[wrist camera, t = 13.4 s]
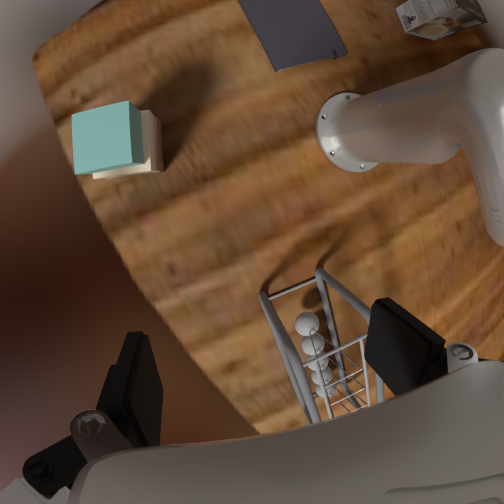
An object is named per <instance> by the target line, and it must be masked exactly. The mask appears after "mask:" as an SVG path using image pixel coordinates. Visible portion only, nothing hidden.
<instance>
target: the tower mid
mask: <svg viewBox="0 0 504 504" xmlns="http://www.w3.org/2000/svg"><path fill="white" fill-rule="evenodd" d="M140 112H141V122H142V139H143V153H144V164H142V165H136V166H130V167H125V168H119V169H114V170H109V171H104V172H99V173H93V179H97V178H107V177H114V176H121V175H128V174H136V173H144V172H153V171H158V162H157V137H156V117H155V116H154V115H153V114H152V113H151V111H150V110H143V111H140Z"/></svg>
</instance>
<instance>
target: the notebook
mask: <svg viewBox="0 0 504 504" xmlns="http://www.w3.org/2000/svg"><path fill="white" fill-rule="evenodd" d="M237 1H238V2H239V4H240V6H241V7H242V9H243V11H244V13H245V15H246V16H247V18H248V20H249V22H250V24H251V25H252V27H253V29H254V31H255V33H256V35H257V37H258V39H259V40H260V42H261V44H262V46H263V48H264V50H265V52H266V54H267V56H268V58H269V60H270V62H271V64H272V66H273V68H274V71H275V72H277V71H278V70H281V69H285V68H289V67H293V66H297V65H301V64H305V63H310V62H314V61H319V60H324V59H329V58H333V59H335V58H337V57H340V56H344V55H346V54H347V51H346V49H345V47H344V45H343V43H342V41H341V39H340V37H339V35H338V33H337V31H336V29H335V28H334V26H333V24H332V22H331V20H330V19H329V17H328V15H327V13H326V12H325V10H324V8H323V7H322V5H321V3H320V2H319V0H237Z"/></svg>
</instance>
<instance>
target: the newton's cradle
mask: <svg viewBox="0 0 504 504" xmlns="http://www.w3.org/2000/svg"><path fill="white" fill-rule="evenodd" d="M323 279H324V280H325V281H326V282H327V283H328V284H329V285H330V286H331V287H332V288H334V289H335V290H336V291H337V292H338V293H339V294H340V295H341V296H342V297H343V298H344V299H346V300H347V301H348V302H349V303H350V304H351V305H352V306H353V307H354V308H355V309H356V310H357V311H359V312H360V313H361V314H362V315H363V317H364V318H365V320H366V321H367V323H368V326H369V321H370V314H371V309H370V308H369V307H368V306H367V305H366V304H364V303H363V302H362V301H361V300H360V299H358V298H357V297H356V296H355V295H354V294H353V293H351V292H350V291H349V290H348V289H347V288H345V287H344V286H343V285H342V284H341V283H339V282H338V281H337V280H336V279H335V278H333V277H332V276H331V275H330V274H329V273H327V272H326V271H325V270H324V269H322V268H320V267H319V268H317V269H316V270H315V278H314V279H312V280H310V281H307V282H305V283H303V284H300V285H298V286H296V287H293V288H291V289H288V290H286V291H284V292H281V293H279V294H276V295H274V296H271V297H269V298H268V297H267V295H266V293H265V292H264V291H261V292H259V294H258V296H259V299H260V302H261V305H262V307H263V310H264V312H265V315H266V318H267V320H268V323H269V325H270V328H271V331H272V333H273V336H274V338H275V341H276V343H277V346H278V349H279V351H280V354H281V356H282V359H283V361H284V364H285V366H286V369H287V372H288V374H289V377H290V379H291V382H292V384H293V387H294V389H295V392H296V394H297V397H298V400H299V402H300V404H301V407H302V409H303V411H304V414H305V416H306V418H307V420H308V422H309V424H313V423H317V422H321V418H320V415H319V412H318V409H317V406H316V403H315V400H314V396H316V395H319V396H320V397H324V400H325V404H326V407H327V411H328V414H329V418H330V419H332V418H334V415H333V412H332V408H331V405H333V404H330V400H329V397H330V396H331V395H332V396H333V397H334V398H335V399H336V400H337V401H338V402H339V403H340V404H341V405H342V406H343V407H345V406H344V405H343V404H342V403H341V402H340V401H341V400H340V401H339V400H338V399H337V398H336V397H335V396H334V395H333V393H334V392H335V389H336V390H337V391H338V392H339V393H340V394H342V393H341V392H340V391H339V390H338V389H337V388H336V386H338V385H340V384H341V385H342V387H343V390H344V392H345V393H346V395H347V396H348V397H345V396H344V395H343V394H342V395H343V396H344V397H345V398H344V399H347V398H349V399H350V401H351V402H352V403H351V402H350V401H349V400H348V399H347V400H348V401H349V402H350V403H351V404H352V405H353V406H354V407H355V408H356V410H357V411H358V410H361V409H363V408H362V407H363V406H362V407H361V406H360V404H359V403H358V401H357V400H356V398H355V397H354V395H356V394H355V393H354V392H353V391H352V390H350V389H349V387H348V385H347V383H346V378H347V377H349V376H350V377H351V378H352V379H353V380H354V381H356V380H355V379H354V378H353V377H352V376H351V375H353V374H355V373H357V372H359V371H361V370H363V369H364V376H365V384H366V387H363V386H362V385H361V384H360V383H359V382H357V381H356V382H357V383H358V384H359V385H360V386H362V387H363V388H364V389H365V388H366V393H367V404H368V407H369V406H371V405H370V394H369V384H368V375H367V366H366V360H365V358H364V344H363V338H365V337H367V333H366V334H364V335H362V336H360V337H358V338H356V339H354V340H352V341H350V342H348V343H346V344H344V345H342V346H340V347H339V344H338V340H337V335H336V331H335V326H334V322H333V318H332V314H331V309H330V305H329V301H328V297H327V293H326V289H325V285H324V281H323ZM314 281H316V282H317V286H318V290H319V293H320V297H321V301H322V305H323V309H324V313H325V317H326V321H327V325H328V329H329V333H330V337H331V341H332V343H330V342H329V341H328V340H327V339H325V338H324V337H323V336H322V335H321V334H319V333H318V332H317V330H318V328H319V319H318V317H317V316H316V315H315V314H314V313H311V312H303V313H301V314H300V315H299V316H298V317H297V318H296V320H295V328H296V330H297V332H298V333H299V334H301V335H303V336H305V337H304V338H303V340H302V343H301V346H302V349H303V351H304V352H305V353H306V354H308V357H307V362H305V363H303V364H302V361H301V359H300V357H299V354H298V352H297V350H296V348H295V346H294V344H293V342H292V340H291V338H290V336H289V335H288V333H287V331H286V329H285V327H284V326H283V324H282V322H281V320H280V318H279V317H278V315H277V313H276V311H275V309H274V307H273V306H272V304H271V302H270V300H271V299H273V298H276V297H278V296H280V295H283V294H285V293H288V292H290V291H293V290H295V289H297V288H300V287H302V286H304V285H307V284H309V283H311V282H314ZM323 338H324V339H325V340H326V341H327V342H329V343H330V344H331V345H332V346H333V350H332V351H329V352H327V353H326V352H324V351H323V349H324V345H325V342H324V339H323ZM358 341H360V347H361V354H362V361H363V368H361V367H360V366H359V365H357V364H356V363H355V362H354V361H352V360H351V359H350V358H349V357H347V356H346V355H345V354H344V353H343V352H341V351H340V350H342V349H344V348H346V347H348V346H350V345H352V344H354V343H356V342H358ZM340 352H341V353H342V354H343V355H344V356H346V357H347V358H348V359H349V360H350V361H352V362H353V363H354V364H355V365H357V366H358V367H359V368H360V369H361V370H359V371H357V372H355V373H353V374H351V375H349V374H348V373H347V372H346V371H344V368H343V363H342V358H341V354H340ZM333 353H334V354H335V358H336V363H337V364H336V363H335V362H334V361H333V360H332V359H330V358H329V357H328V356H329V355H331V354H333ZM329 359H330V360H331V361H332V362H333V363H335V364H336V365H337V367H338V372H339V376H340V380H339V379H338V378H337V377H336V376H335V375H334V374H333V373H332V370H331V369H330V368H329V367H328V366H327V365H328V362H329ZM307 365H308V367H309V368H310V369H312V370H313V371H312V374H311V377H312V380H313V381H314V383H316V388H315V389H316V394H314V395H313V394H312V391H311V388H310V385H309V382H308V379H307V376H306V373H305V370H304V367H305V366H307ZM344 372H345V373H346V374H347V375H349V376H347V377H345V373H344ZM374 372H375V371H374ZM332 375H333V376H334V377H336V378H337V379H338V380H339V381H340V383H338V384H336V385H335V383H337V382H339V381H337V382H335V383H334V382H333V381H332V380H331V379H332ZM375 384H376V398H377V404H378V403H380V402H383V401H384V382H383V380H382V379H381V378H380V377H379V376H378V374H377V373H376V372H375ZM362 390H363V389H362ZM360 391H361V390H360ZM358 392H359V391H358ZM352 393H353V394H354V395H353V394H352ZM356 393H357V392H356ZM356 396H357V395H356ZM357 397H358V396H357ZM327 398H328V399H327ZM358 398H359V397H358ZM359 399H360V400H361V401H362V402H363V403H364V404H366V403H365V402H364V401H363V400H362V399H361V398H359ZM342 400H343V399H342ZM328 401H329V403H328ZM336 403H337V402H336ZM334 404H335V403H334ZM367 404H366V405H367ZM364 406H365V405H364ZM330 408H331V410H330ZM345 408H346V407H345ZM346 409H347V408H346ZM347 410H348V409H347ZM356 410H354V411H356ZM348 411H349V410H348ZM354 411H352V412H354ZM331 412H332V414H331ZM349 412H350V411H349ZM350 413H351V412H350ZM332 416H333V417H332Z"/></svg>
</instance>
